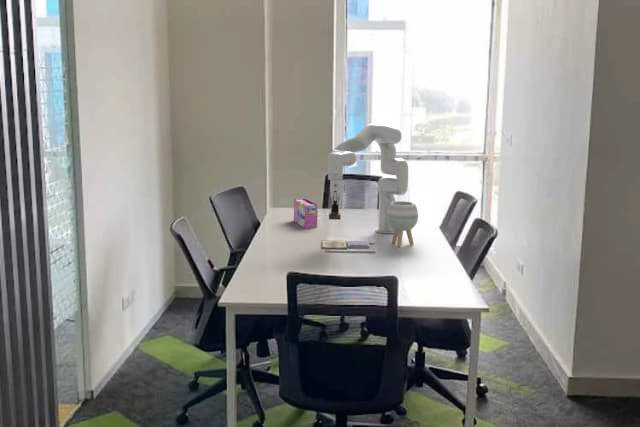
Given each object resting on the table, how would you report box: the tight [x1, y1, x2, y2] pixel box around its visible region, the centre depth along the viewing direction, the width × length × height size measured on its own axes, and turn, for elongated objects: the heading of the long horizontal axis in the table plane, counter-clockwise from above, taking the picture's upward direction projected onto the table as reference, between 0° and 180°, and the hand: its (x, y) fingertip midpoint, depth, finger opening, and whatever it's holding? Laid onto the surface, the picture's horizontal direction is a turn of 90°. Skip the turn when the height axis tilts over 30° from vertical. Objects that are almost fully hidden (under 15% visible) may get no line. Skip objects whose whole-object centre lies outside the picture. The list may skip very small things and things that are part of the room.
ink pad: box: [346, 240, 370, 249], centre depth 366 cm, size 11×11×2 cm
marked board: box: [321, 239, 348, 250], centre depth 367 cm, size 13×16×1 cm
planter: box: [387, 200, 419, 248], centre depth 367 cm, size 16×16×22 cm
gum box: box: [293, 198, 319, 229], centre depth 420 cm, size 24×8×14 cm, turn 20°
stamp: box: [328, 198, 342, 221], centre depth 363 cm, size 6×6×13 cm
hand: (334, 211), depth 363 cm, fingers closed on stamp, 4 cm apart
